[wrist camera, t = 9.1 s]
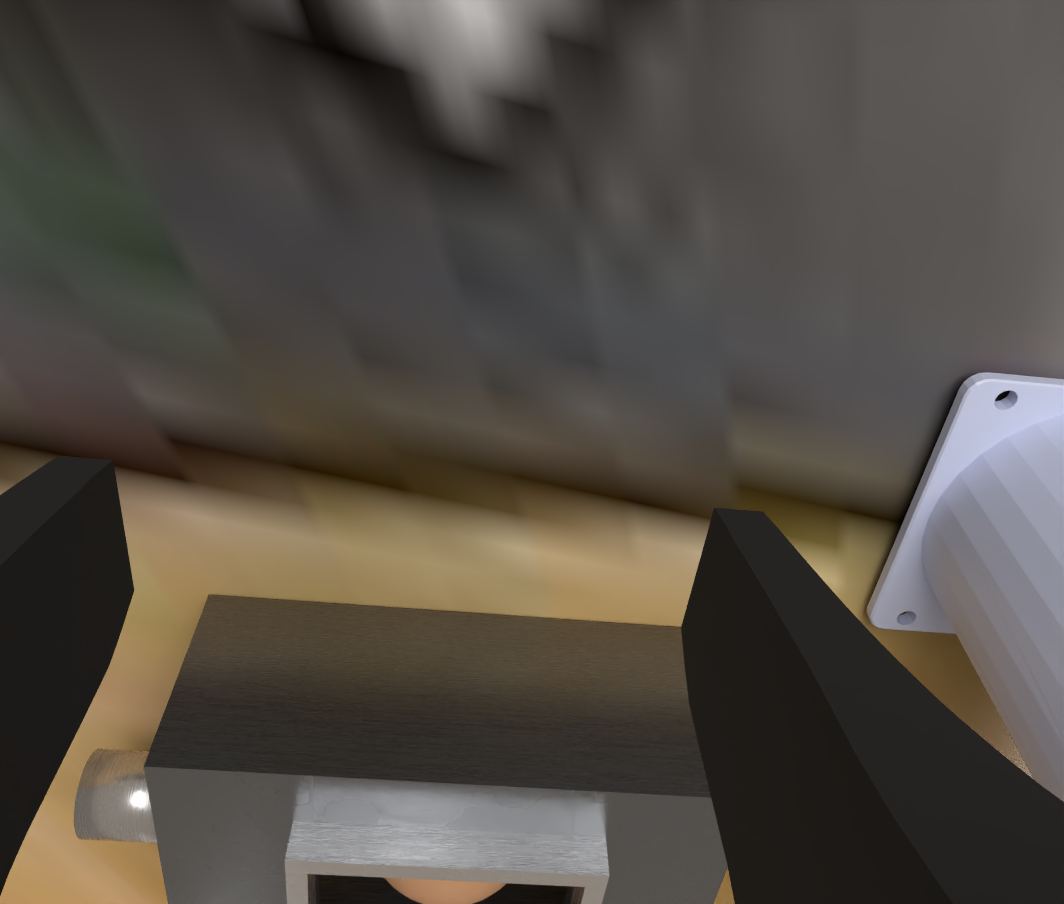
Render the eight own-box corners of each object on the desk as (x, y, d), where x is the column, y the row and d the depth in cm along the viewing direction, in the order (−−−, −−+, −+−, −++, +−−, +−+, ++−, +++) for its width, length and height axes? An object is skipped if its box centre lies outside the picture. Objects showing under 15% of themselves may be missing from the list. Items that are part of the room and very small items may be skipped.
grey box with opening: (712, 629, 27) (763, 837, 22) (643, 856, 33) (669, 1063, 28) (95, 586, 26) (-16, 798, 20) (142, 831, 32) (66, 1044, 26)
